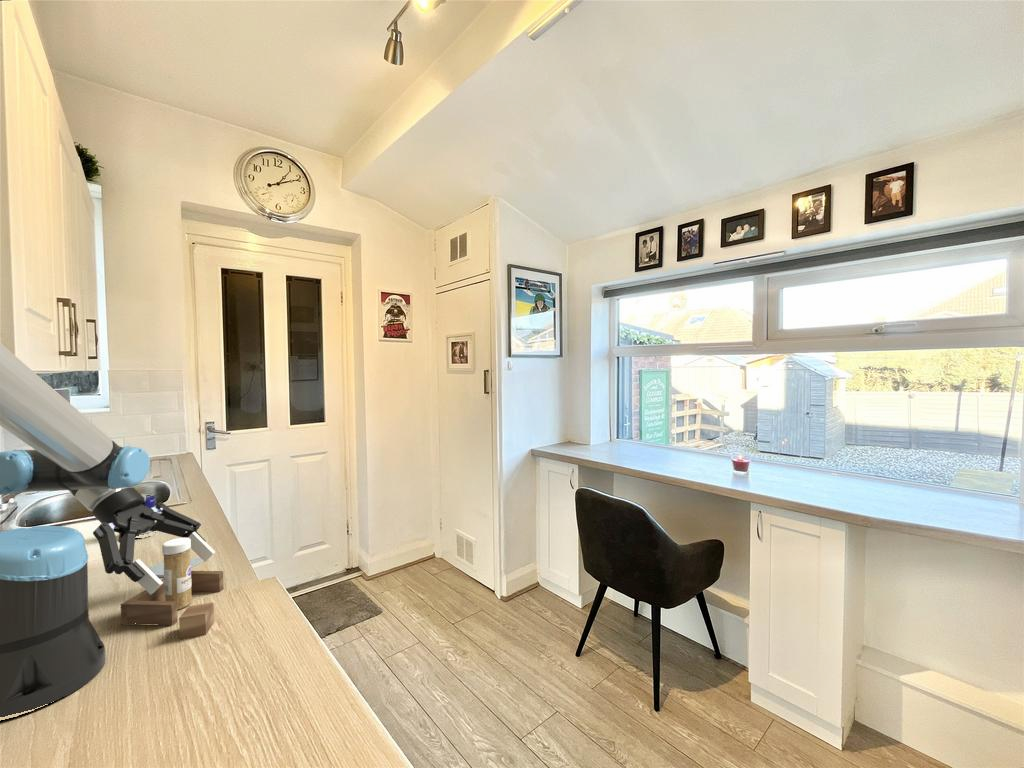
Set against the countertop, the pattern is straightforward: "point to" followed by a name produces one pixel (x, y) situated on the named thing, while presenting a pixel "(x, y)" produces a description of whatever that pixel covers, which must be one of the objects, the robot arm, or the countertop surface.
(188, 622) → the walnut cube
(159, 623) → the cubby
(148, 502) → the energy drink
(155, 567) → the coaster
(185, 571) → the spice jar
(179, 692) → the countertop surface
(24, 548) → the robot arm
